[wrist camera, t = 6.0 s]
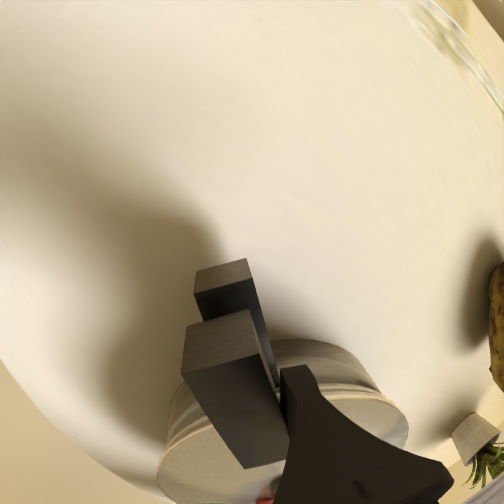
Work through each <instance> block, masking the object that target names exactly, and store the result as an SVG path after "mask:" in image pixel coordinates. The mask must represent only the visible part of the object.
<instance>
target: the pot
mask: <svg viewBox="0 0 504 504" xmlns="http://www.w3.org/2000/svg"><path fill="white" fill-rule="evenodd" d="M193 294H194V296H195V299H196V302H197V305H198V307H199V310H200V313H201V315H202V318H203V321H204V322H205V321H208V320H212V319H215V318H219V317H222V316H225V315H229V314H232V313H236V312H239V311H242V310H246V309H249V311H250V314H251V317H252V320H253V323H254V326H255V329H256V332H257V335H258V338H259V341H260V344H261V347H262V350H263V353H264V355H265V358H266V361H267V364H268V367H269V370H270V373H271V376H272V378H273V381H274V384H275V387H276V390H277V393H278V395H279V398H280V368H286V367H292V366H298V365H304V364H306V365H307V366H308V367H309V369H310V370H311V372H312V373H313V375H314V377H315V379H316V382H317V384H318V387H319V389H320V392H336V391H354V392H365V393H372V394H376V395H379V396H382V397H385V396H384V395H382V393H381V392H380V390H379V389H378V387H377V386H376V384H375V383H374V381H373V380H372V379H371V377H370V376H369V374H368V373H367V371H366V370H365V368H364V367H363V365H362V364H361V363H360V362H359V361H358V360H357V358H355V357H354V356H353V355H351V354H350V353H349V352H347V351H345V350H343V349H341V348H339V347H337V346H334V345H331V344H328V343H323V342H317V341H310V340H280V341H272V342H270V341H269V337H268V333H267V330H266V326H265V322H264V318H263V315H262V311H261V307H260V304H259V300H258V296H257V293H256V289H255V285H254V281H253V278H252V275H251V272H250V269H249V266H248V262H247V259H246V258H244V259H241V260H237V261H233V262H230V263H226V264H222V265H219V266H215V267H211V268H208V269H204V270H200V271H197V273H196V279H195V286H194V293H193ZM385 398H386V397H385ZM208 420H209V419H208V417H207V416H206V414H205V413H204V411H203V409H202V408H201V406H200V405H199V403H198V401H197V400H196V398H195V397H194V395H193V393H192V392H191V390H190V388H189V387H188V385H187V383H186V381H184V382H183V384H182V385H181V386H180V387H179V389H178V390H177V392H176V394H175V396H174V398H173V401H172V404H171V408H170V417H169V426H168V435H167V445H166V447H165V449H166V448H167V446H168V445H169V444H170V443H171V442H172V441H174V440H175V439H176V438H177V437H179V436H180V435H181V434H183V433H185V432H186V431H188V430H190V429H192V428H193V427H195V426H197V425H199V424H202V423H204V422H206V421H208Z"/></svg>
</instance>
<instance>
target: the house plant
mask: <svg viewBox="0 0 504 504" xmlns="http://www.w3.org/2000/svg"><path fill="white" fill-rule="evenodd" d="M500 435H501V432H500V431H499V430H498V429H497V428H495V427H494V426H493V425H491V424H490V423H489V422H487V421H486V420H485V419H483V418H482V417H481V416H479V415H478V414H477V413H473V414H471V415H469V416H468V417H467V418H465V419H464V420H463V421H462V422H461V423H460V424H459V425H458V426H457V427H456V428H455V430H454V431H453V432H452V434H451V437H452V439H453V441H454V444H455V446H456V448H457V450H458V452H459V455H460V457H461V459H462V461H463V464H464V466H469V465H470V464H472V463H473V470H472V473H471V475H470V477H469V479H468V480H467V482H468V481H469V480H470V479H471V477H472V476H473V473H474V471H475V466H476V462H475V461H476V460H477V469H476V474H475V478H474V481H473V484H472V485H474V484H475V483H476V482H477V481H478V482H479V481H480V479H481V477H482V474H483V481H482V488H484V487H485V482H486V476H485V475H486V465H487V467H488V470H489V473H490V475H491V476H492V479H493V480H494V479H495V478H496V477H497V476H499V475H500V474H501V473H502V472H503V471H504V462H502V461H504V453H503V451H504V447H501V448H500V447H494V446H493V444H502V443H495V442H496V441H497V439H498V438H499V437H500ZM482 461H483V462H482ZM479 477H480V478H479ZM478 479H479V480H478ZM467 482H466V483H467ZM478 482H477V483H478ZM477 483H476V484H477ZM463 485H464V484H463ZM475 486H476V485H475ZM472 488H474V487H472ZM472 488H471V489H472Z"/></svg>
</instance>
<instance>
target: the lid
mask: <svg viewBox="0 0 504 504" xmlns="http://www.w3.org/2000/svg"><path fill="white" fill-rule="evenodd" d="M181 375H182V376H183V378H184V380H185V381H186V383H187V385H188V387H189V388H190V390H191V392H192V393H193V395H194V397H195V398H196V400H197V401H198V403H199V405H200V406H201V408H202V409H203V411H204V413H205V414H206V416H207V417H208V419H209V420H208V421H206V422H204V423H202V424H199V425H197V426H195V427H193V428H192V429H190V430H188V431H186V432H185V433H183V434H181V435H180V436H179V437H177V438H176V439H175V440H174V441H172V442H171V443H170V444H169V445H168V446H167V448H166V449H165V450H164V451H163V453H162V455H161V457H160V459H159V464H158V472H157V478H158V484H159V486H160V488H161V490H162V491H163V492H164V493H165V494H166V495H167V496H168V497H169V498H170V499H171V500H173V501H174V502H176V503H177V504H272V502H273V500H274V497H275V495H276V492H277V489H278V486H279V483H280V479H281V476H282V473H283V469H284V466H285V462H286V457H287V453H288V448H289V442H290V439H289V436H288V433H287V431H288V430H287V426H286V423H285V420H284V416H283V413H282V409H281V406H280V398H279V395H278V393H277V390H276V387H275V384H274V381H273V378H272V376H271V373H270V370H269V367H268V364H267V361H266V358H265V355H264V353H263V350H262V347H261V344H260V341H259V338H258V335H257V332H256V329H255V326H254V323H253V320H252V317H251V314H250V311H249V309H246V310H242V311H239V312H236V313H232V314H229V315H225V316H222V317H219V318H215V319H212V320H208V321H205V322H201V323H197V324H194V325H190V326H187V329H186V336H185V344H184V351H183V359H182V368H181ZM321 394H322V395H323V396H324V397H325V398H326V399H327V400H328V401H329V402H330V403H331V404H332V405H334V406H335V407H336V408H337V409H338V410H339V411H340V412H342V413H343V414H344V415H345V416H347V417H348V418H349V419H350V420H352V421H353V422H354V423H356V424H357V425H359V426H360V427H362V428H363V429H365V430H366V431H368V432H369V433H371V434H373V435H374V436H376V437H378V438H380V439H381V440H383V441H385V442H387V443H389V444H392V445H394V446H396V447H398V448H400V449H403V447H404V445H405V443H406V440H407V437H408V431H409V427H408V422H407V420H406V418H405V416H404V414H403V413H402V411H401V410H400V408H399V407H398V406H397V405H396V404H395V403H394V402H392V401H391V400H389V399H387V398H385V397H382V396H379V395H376V394H372V393H365V392H354V391H336V392H321Z"/></svg>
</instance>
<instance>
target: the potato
mask: <svg viewBox="0 0 504 504" xmlns="http://www.w3.org/2000/svg"><path fill="white" fill-rule="evenodd" d="M489 300H490V302H491V303H490V311H489V319H488V320H489V329H488V332H489V334H488V336H489V346H490V355H491V367H490V368H489V370H490V371H491V373H492V376H493V379H494V381H495V382H496V384H497V385H498V386H499V388H500V389H501V390H502V391H503V392H504V262H503V263H501V264H500V265H499V266H498V267H497V268H496V270H495V271H494V273H493V275H492V278H491V281H490V285H489Z"/></svg>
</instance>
